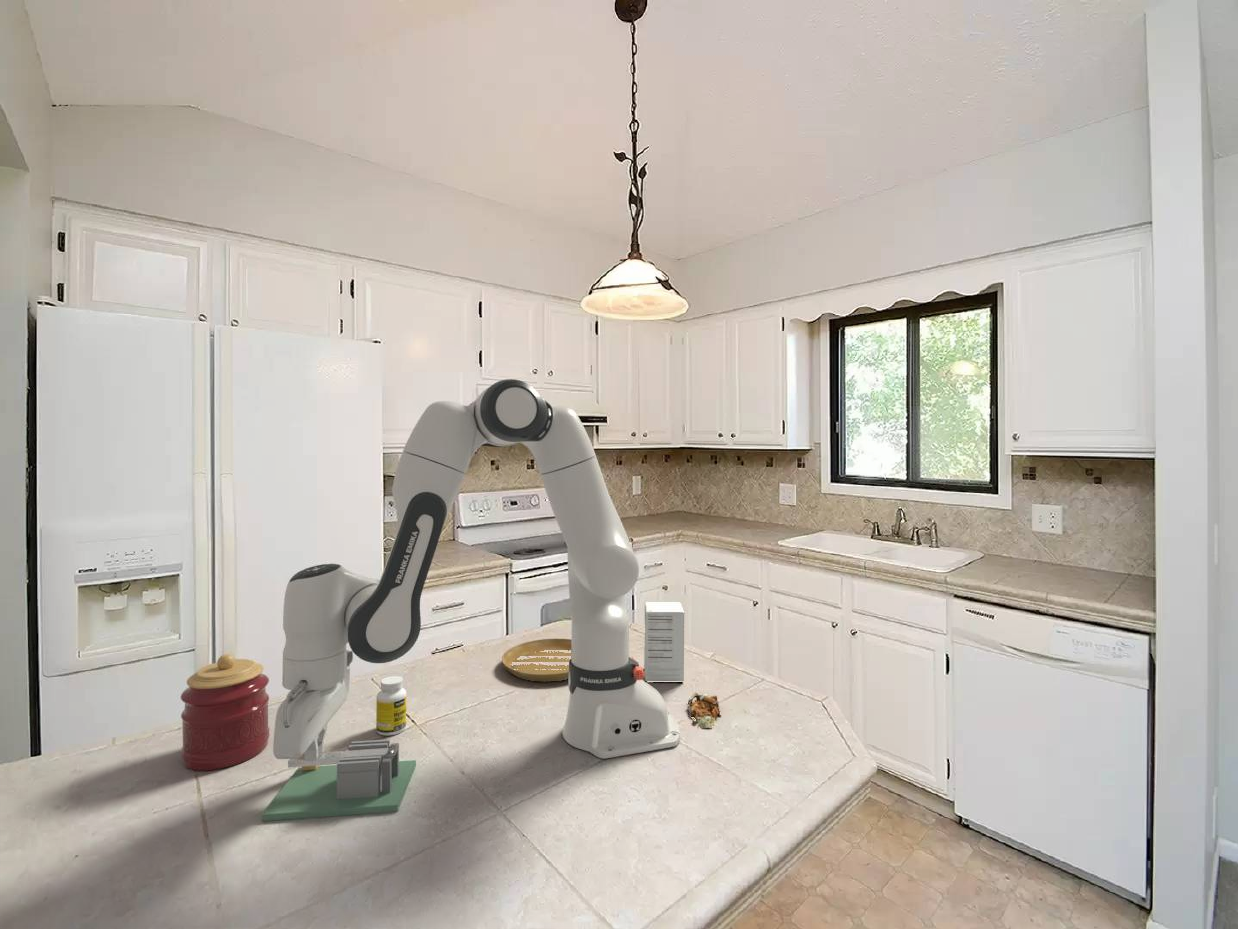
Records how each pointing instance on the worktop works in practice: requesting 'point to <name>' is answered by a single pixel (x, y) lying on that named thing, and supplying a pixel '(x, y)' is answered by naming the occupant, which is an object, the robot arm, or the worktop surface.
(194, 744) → the canister
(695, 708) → the pastry
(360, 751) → the strap
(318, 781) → the heatsink base
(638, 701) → the robot arm
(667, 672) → the supplement box
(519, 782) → the worktop surface
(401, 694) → the supplement bottle
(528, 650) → the plant saucer
